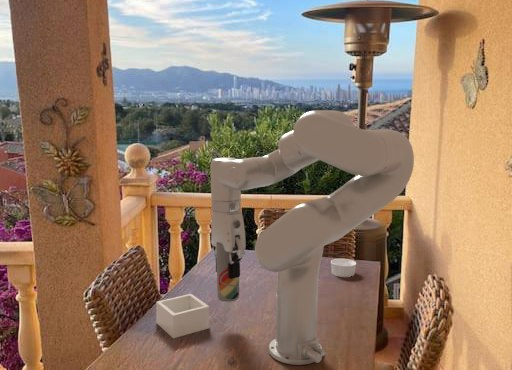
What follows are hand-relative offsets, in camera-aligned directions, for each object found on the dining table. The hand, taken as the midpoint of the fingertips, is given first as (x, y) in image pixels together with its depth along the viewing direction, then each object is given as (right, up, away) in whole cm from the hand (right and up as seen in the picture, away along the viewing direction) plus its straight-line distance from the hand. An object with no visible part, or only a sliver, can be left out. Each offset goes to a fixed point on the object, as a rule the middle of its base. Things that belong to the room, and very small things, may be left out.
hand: (227, 273), depth 124 cm
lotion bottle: (0, -7, +1) cm, 7 cm away
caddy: (-12, -14, +1) cm, 18 cm away
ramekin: (+38, -8, +43) cm, 58 cm away
